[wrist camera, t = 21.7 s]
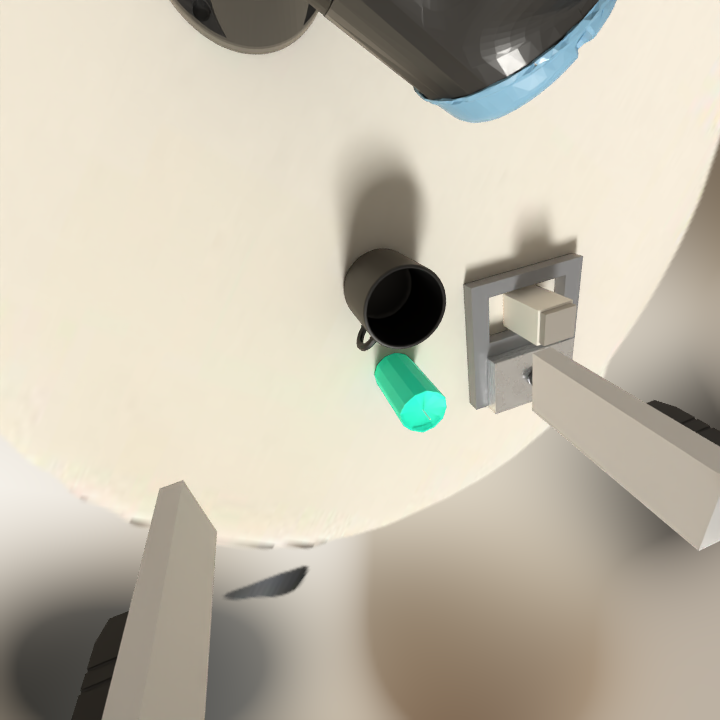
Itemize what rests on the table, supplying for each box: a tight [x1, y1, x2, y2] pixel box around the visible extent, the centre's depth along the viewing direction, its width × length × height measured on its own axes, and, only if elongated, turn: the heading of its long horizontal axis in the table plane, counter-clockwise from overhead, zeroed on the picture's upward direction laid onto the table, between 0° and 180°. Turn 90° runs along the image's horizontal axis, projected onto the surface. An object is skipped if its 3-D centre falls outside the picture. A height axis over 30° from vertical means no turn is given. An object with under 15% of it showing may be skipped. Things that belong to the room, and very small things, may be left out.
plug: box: [503, 284, 577, 346], centre depth 52 cm, size 5×5×8 cm
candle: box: [374, 353, 446, 432], centre depth 49 cm, size 6×6×12 cm
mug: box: [344, 249, 446, 351], centre depth 45 cm, size 9×12×9 cm
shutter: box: [487, 337, 574, 414], centre depth 57 cm, size 9×13×3 cm
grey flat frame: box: [464, 253, 583, 410], centre depth 57 cm, size 20×17×2 cm
